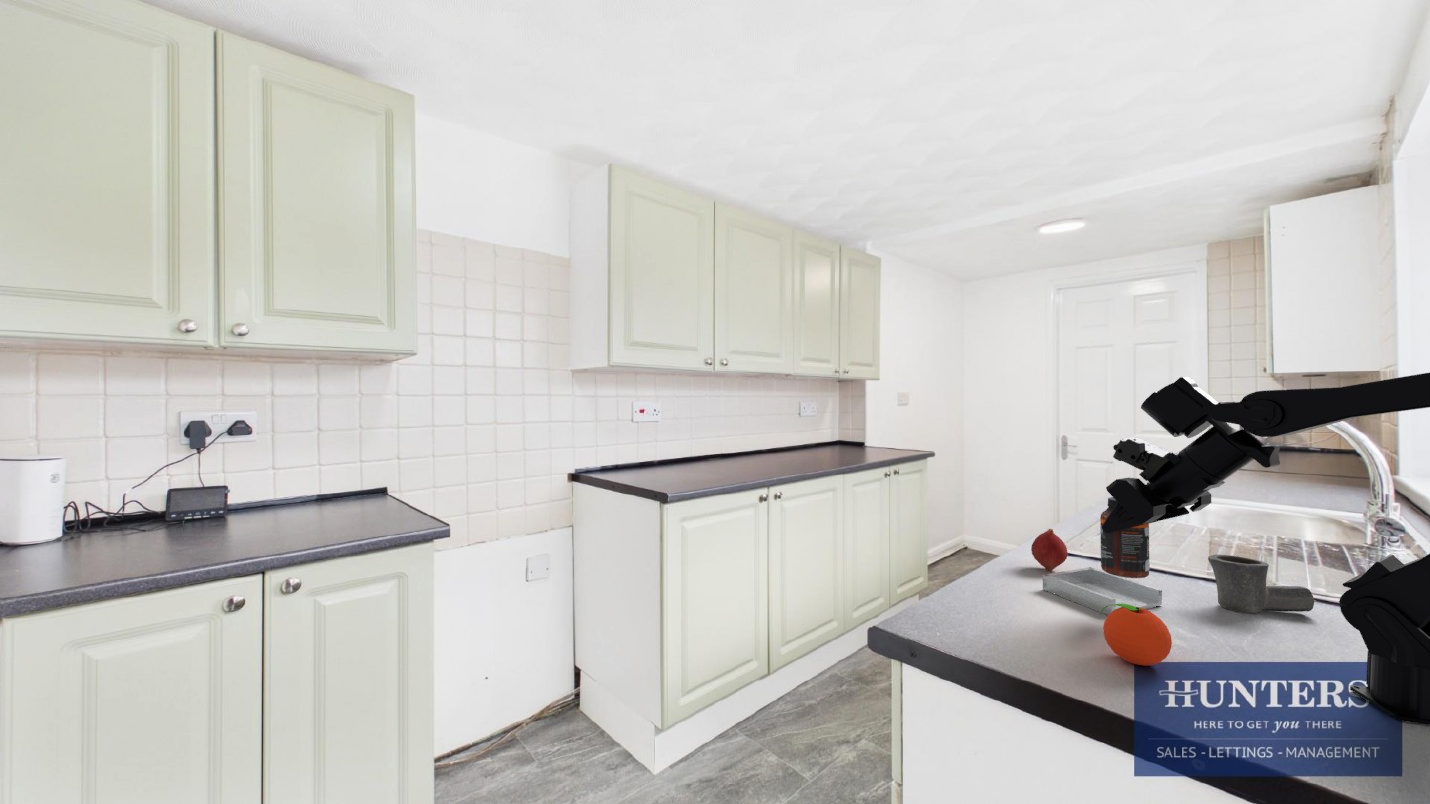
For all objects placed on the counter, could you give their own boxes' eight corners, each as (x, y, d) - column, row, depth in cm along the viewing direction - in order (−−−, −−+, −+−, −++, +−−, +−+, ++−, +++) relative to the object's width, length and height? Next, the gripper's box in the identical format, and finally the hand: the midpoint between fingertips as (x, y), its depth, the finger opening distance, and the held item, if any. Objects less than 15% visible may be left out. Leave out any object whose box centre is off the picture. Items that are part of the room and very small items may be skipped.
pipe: (1322, 622, 82) (1324, 569, 82) (1221, 614, 85) (1223, 563, 85) (1289, 606, 88) (1291, 557, 88) (1196, 599, 91) (1197, 551, 91)
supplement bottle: (1160, 578, 81) (1160, 501, 81) (1125, 581, 80) (1124, 503, 80) (1124, 566, 87) (1124, 494, 87) (1090, 568, 86) (1090, 496, 86)
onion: (1024, 567, 106) (1025, 526, 106) (1043, 563, 109) (1044, 523, 109) (1053, 577, 101) (1054, 533, 101) (1073, 572, 104) (1074, 530, 103)
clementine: (1082, 651, 73) (1083, 598, 73) (1114, 641, 76) (1116, 590, 75) (1150, 681, 66) (1151, 622, 65) (1183, 669, 68) (1185, 612, 68)
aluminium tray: (1161, 606, 88) (1162, 590, 88) (1111, 616, 84) (1112, 599, 84) (1089, 581, 99) (1090, 567, 99) (1042, 589, 95) (1042, 574, 95)
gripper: (1184, 418, 85) (1105, 481, 94) (1122, 421, 75) (1041, 491, 85) (1254, 475, 78) (1160, 537, 87) (1194, 487, 69) (1097, 554, 78)
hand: (1114, 527), depth 85 cm, fingers closed on supplement bottle, 6 cm apart
